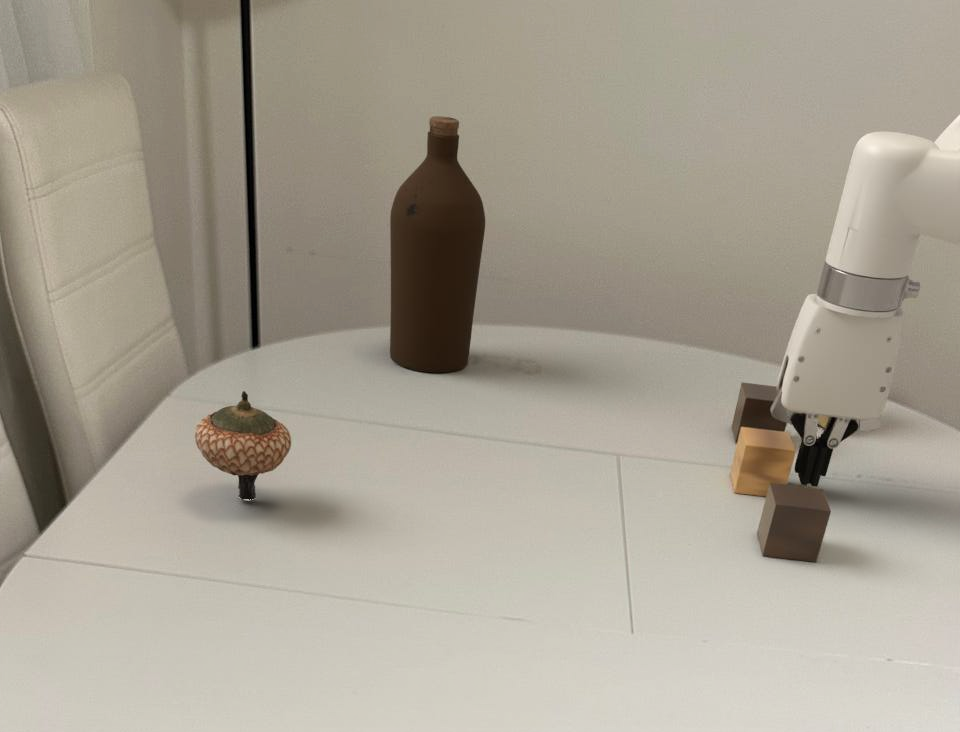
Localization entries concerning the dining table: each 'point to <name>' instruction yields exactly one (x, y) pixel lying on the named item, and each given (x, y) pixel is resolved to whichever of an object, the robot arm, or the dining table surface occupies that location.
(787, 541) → the walnut block
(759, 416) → the walnut block
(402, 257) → the olive oil
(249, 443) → the acorn
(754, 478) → the maple block
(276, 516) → the dining table surface
